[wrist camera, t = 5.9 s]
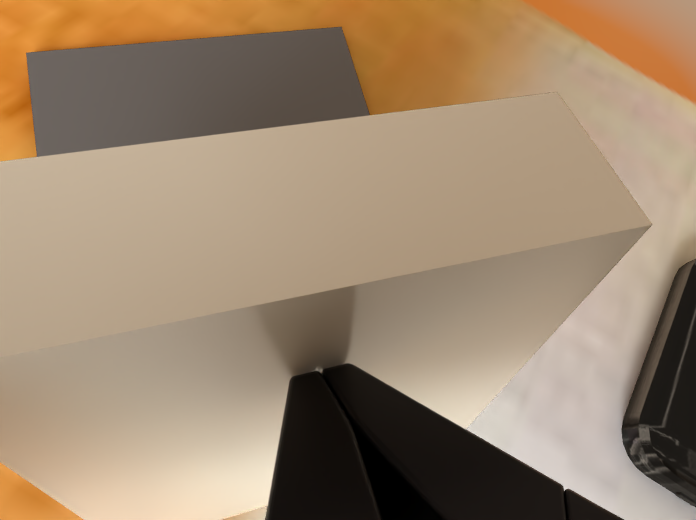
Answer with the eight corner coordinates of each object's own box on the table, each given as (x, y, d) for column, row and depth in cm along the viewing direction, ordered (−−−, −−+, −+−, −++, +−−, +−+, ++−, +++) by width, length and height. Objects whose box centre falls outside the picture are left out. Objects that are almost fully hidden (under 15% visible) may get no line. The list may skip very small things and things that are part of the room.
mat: (434, 332, 17) (438, 329, 16) (68, 417, 14) (64, 416, 14) (339, 35, 20) (341, 26, 20) (30, 61, 18) (26, 52, 17)
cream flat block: (443, 454, 15) (651, 225, 7) (125, 547, 13) (-119, 381, 5) (408, 361, 16) (548, 78, 8) (115, 433, 14) (-88, 153, 6)
